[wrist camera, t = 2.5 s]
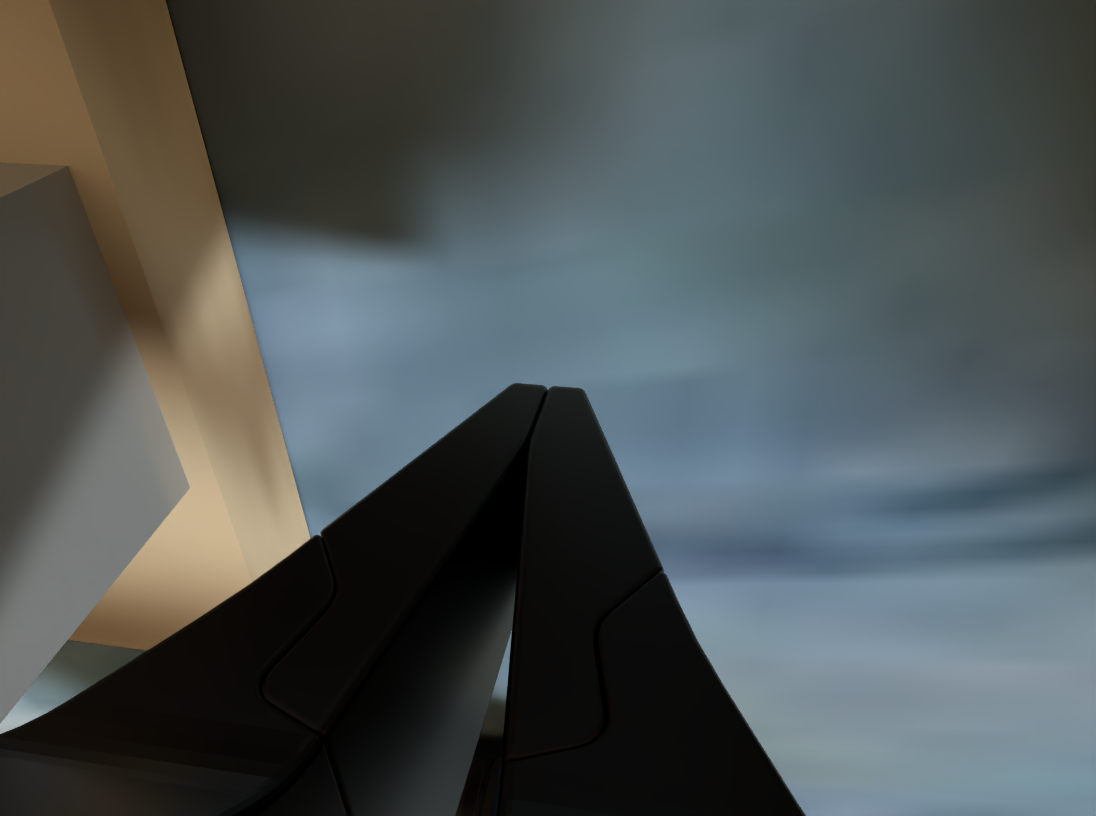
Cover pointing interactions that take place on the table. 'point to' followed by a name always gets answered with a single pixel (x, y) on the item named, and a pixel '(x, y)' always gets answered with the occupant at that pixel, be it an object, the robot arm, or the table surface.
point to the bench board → (158, 295)
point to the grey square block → (67, 426)
